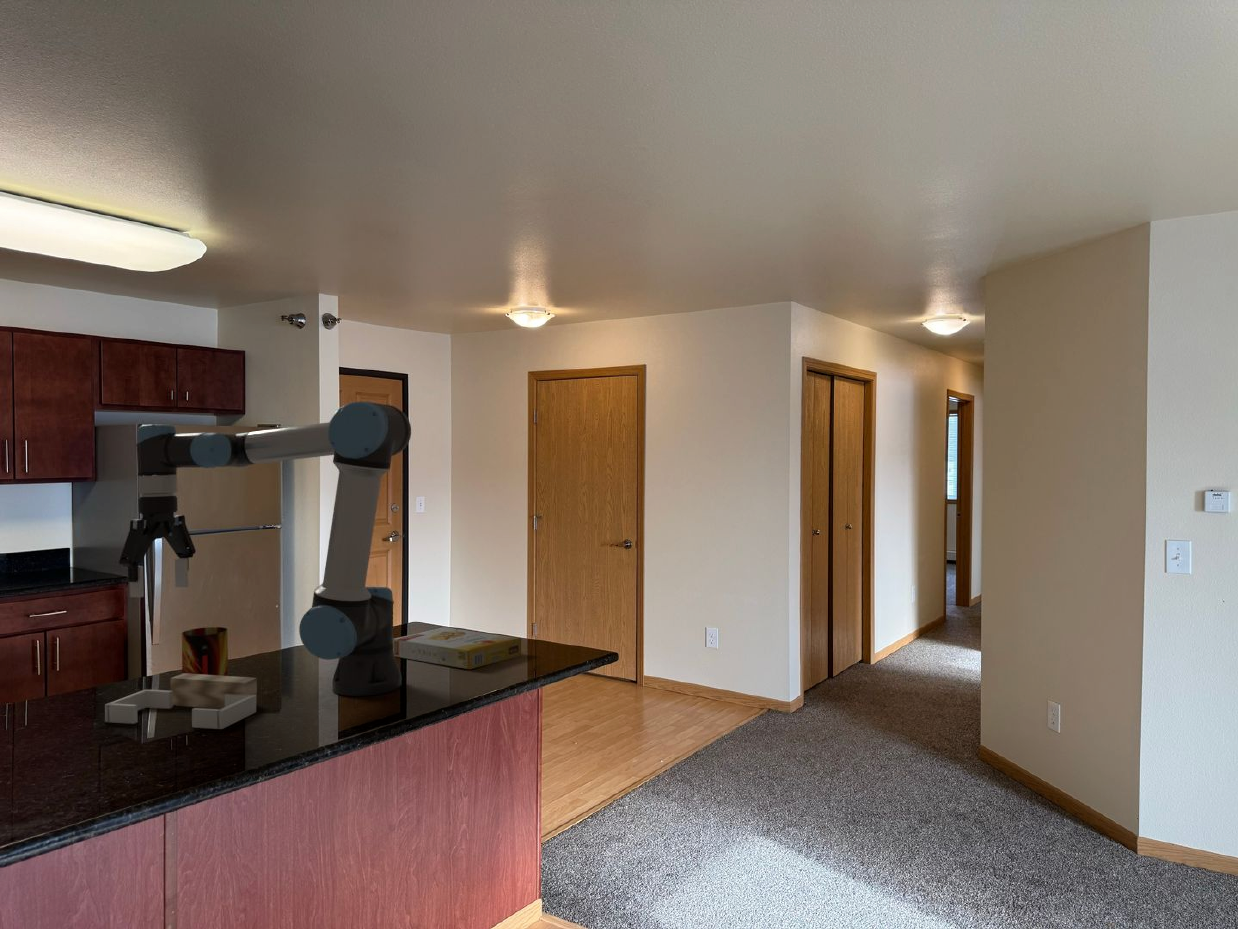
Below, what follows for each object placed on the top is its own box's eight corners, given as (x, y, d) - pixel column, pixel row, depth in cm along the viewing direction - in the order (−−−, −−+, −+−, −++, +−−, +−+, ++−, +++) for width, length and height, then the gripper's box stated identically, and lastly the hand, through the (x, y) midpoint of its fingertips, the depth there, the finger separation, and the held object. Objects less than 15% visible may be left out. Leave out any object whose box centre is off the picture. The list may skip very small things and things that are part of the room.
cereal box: (469, 649, 206) (390, 636, 221) (469, 672, 206) (390, 657, 221) (522, 636, 223) (445, 624, 238) (522, 657, 223) (445, 644, 238)
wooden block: (256, 706, 179) (256, 678, 179) (244, 711, 175) (244, 683, 175) (184, 700, 183) (184, 673, 183) (170, 706, 179) (170, 678, 179)
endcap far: (105, 722, 168) (104, 704, 168) (145, 705, 179) (145, 689, 179) (133, 723, 167) (133, 706, 167) (172, 707, 178) (172, 690, 178)
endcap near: (256, 712, 174) (256, 695, 174) (221, 729, 163) (221, 711, 163) (228, 710, 175) (227, 693, 175) (192, 727, 165) (191, 709, 165)
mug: (203, 693, 188) (203, 640, 188) (174, 683, 197) (173, 632, 196) (245, 684, 196) (244, 632, 196) (215, 674, 204) (214, 625, 204)
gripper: (182, 492, 198) (184, 582, 198) (97, 498, 173) (100, 601, 173) (210, 492, 196) (213, 583, 196) (129, 498, 172) (132, 601, 172)
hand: (160, 592), depth 185 cm, fingers open, 13 cm apart
